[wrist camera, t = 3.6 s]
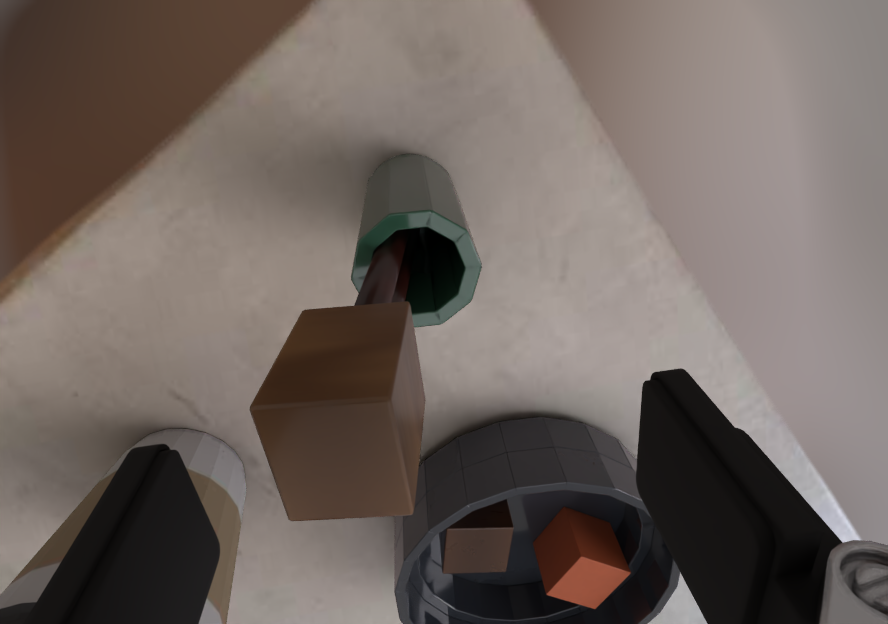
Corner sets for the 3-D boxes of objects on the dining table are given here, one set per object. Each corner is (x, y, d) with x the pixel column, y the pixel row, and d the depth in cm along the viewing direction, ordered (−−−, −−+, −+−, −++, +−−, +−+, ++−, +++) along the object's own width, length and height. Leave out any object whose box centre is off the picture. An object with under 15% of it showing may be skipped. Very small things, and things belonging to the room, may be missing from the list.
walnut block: (502, 477, 35) (514, 527, 32) (496, 520, 37) (506, 572, 34) (441, 478, 35) (446, 529, 32) (437, 521, 37) (442, 574, 33)
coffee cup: (51, 476, 33) (-175, 775, 20) (159, 364, 30) (-24, 630, 17) (209, 558, 38) (109, 847, 25) (318, 468, 35) (270, 742, 21)
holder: (465, 163, 26) (494, 223, 18) (442, 249, 28) (461, 338, 20) (374, 142, 26) (365, 196, 18) (358, 233, 28) (343, 318, 20)
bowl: (683, 431, 36) (732, 502, 30) (590, 597, 43) (617, 678, 38) (426, 393, 33) (432, 464, 27) (375, 579, 40) (372, 664, 35)
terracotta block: (610, 522, 38) (631, 573, 35) (577, 557, 40) (595, 609, 36) (563, 506, 37) (581, 556, 34) (532, 543, 39) (545, 595, 35)
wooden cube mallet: (435, 166, 26) (391, 398, 10) (443, 230, 27) (414, 517, 12) (377, 172, 26) (246, 408, 10) (387, 236, 27) (288, 522, 12)
